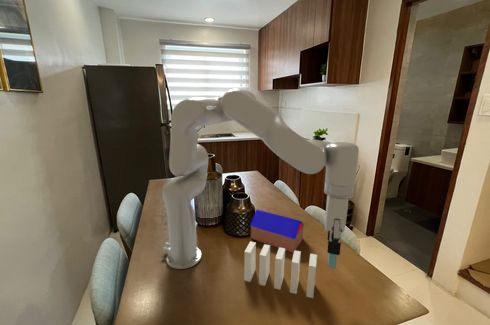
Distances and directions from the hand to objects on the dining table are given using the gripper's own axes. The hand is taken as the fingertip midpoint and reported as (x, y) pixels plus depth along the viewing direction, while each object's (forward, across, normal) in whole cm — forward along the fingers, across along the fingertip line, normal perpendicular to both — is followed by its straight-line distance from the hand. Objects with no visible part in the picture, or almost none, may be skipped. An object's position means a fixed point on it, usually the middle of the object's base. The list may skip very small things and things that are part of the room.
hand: (333, 246), depth 68 cm
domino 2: (+17, 0, -20) cm, 26 cm away
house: (+17, -25, -21) cm, 37 cm away
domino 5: (+17, 0, -5) cm, 18 cm away
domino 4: (+17, 0, -10) cm, 20 cm away
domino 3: (+17, 0, -15) cm, 23 cm away
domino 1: (+17, 0, -25) cm, 30 cm away
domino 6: (+5, 0, 0) cm, 5 cm away
